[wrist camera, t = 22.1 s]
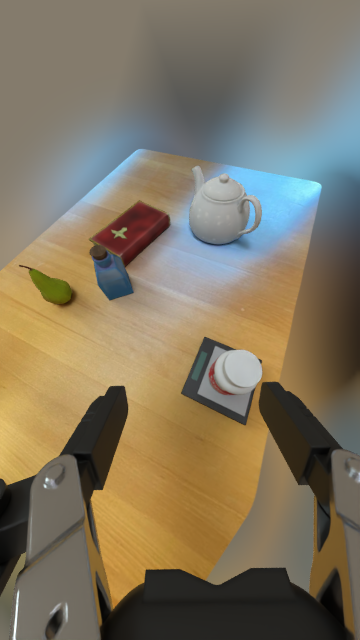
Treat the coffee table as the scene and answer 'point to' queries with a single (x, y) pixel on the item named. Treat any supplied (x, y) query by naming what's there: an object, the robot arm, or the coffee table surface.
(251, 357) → the pill bottle
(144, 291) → the coffee table surface
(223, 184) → the teapot
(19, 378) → the coffee table surface
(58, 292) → the fruit
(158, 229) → the hardcover book
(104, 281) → the perfume bottle
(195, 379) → the scale
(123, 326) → the coffee table surface
